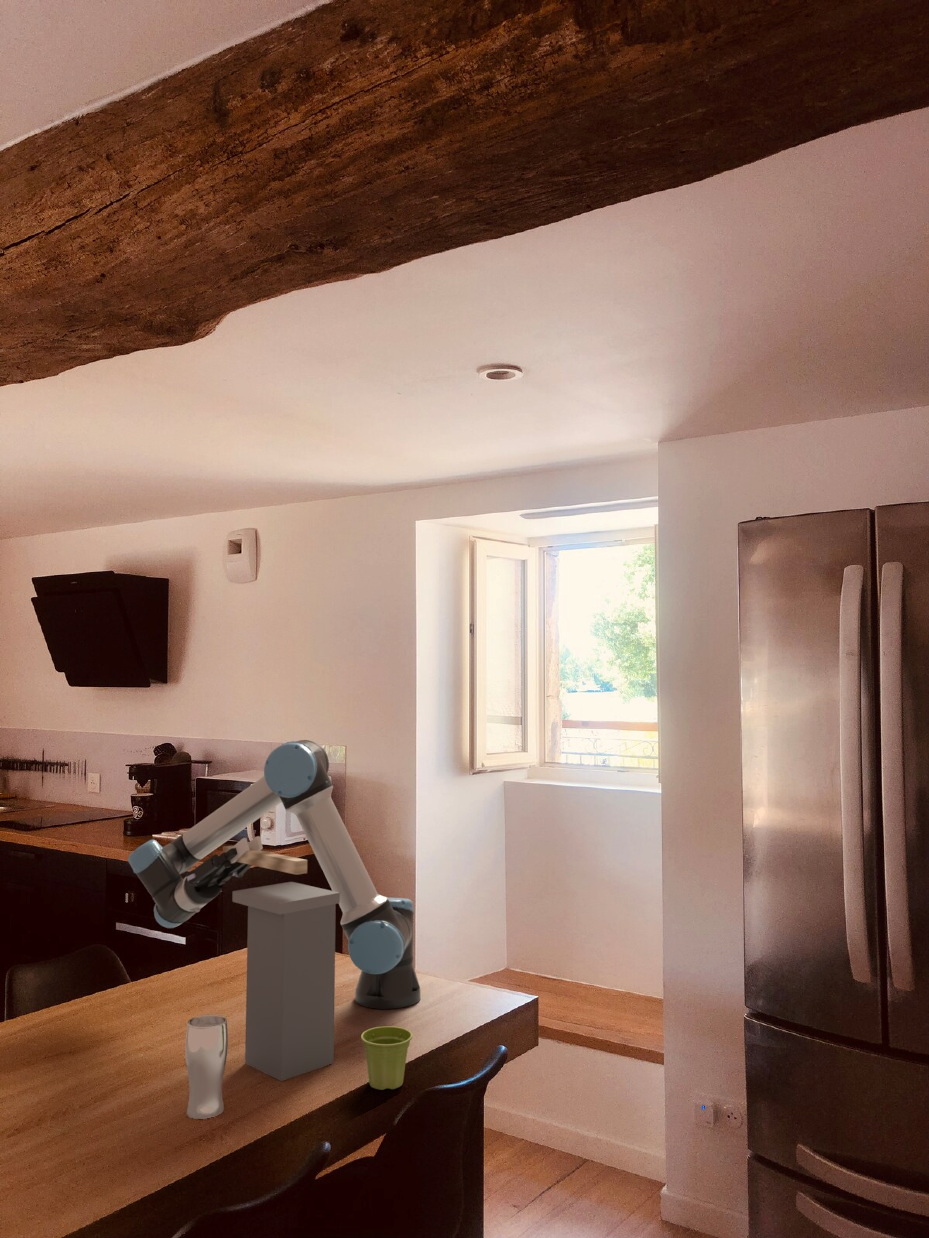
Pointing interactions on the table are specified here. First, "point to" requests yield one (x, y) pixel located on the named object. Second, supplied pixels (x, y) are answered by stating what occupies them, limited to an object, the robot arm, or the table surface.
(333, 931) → the grey stand
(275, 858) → the wooden bar
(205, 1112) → the beer glass
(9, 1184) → the table surface
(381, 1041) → the plant pot
